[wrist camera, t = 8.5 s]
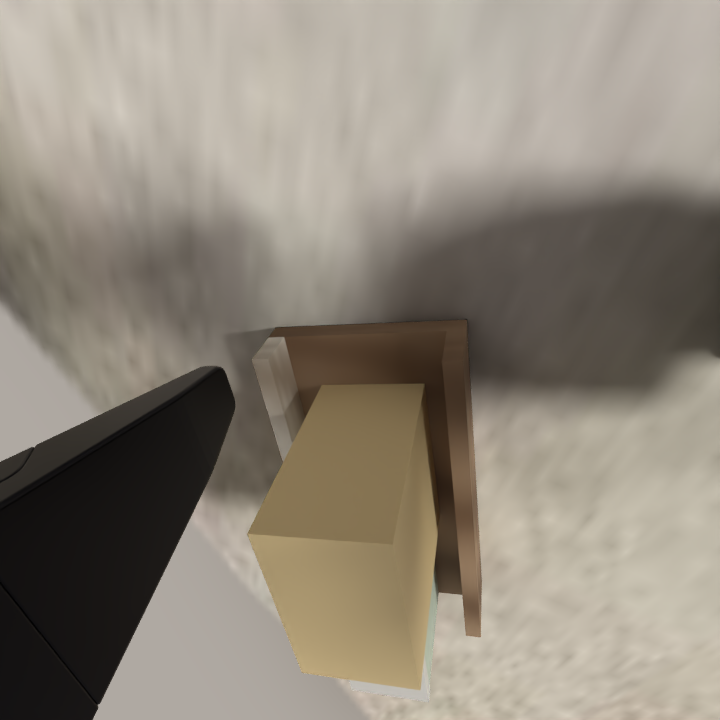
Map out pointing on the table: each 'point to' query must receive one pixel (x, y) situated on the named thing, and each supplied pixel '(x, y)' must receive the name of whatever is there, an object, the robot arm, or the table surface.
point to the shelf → (393, 366)
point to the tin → (425, 684)
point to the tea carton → (355, 535)
